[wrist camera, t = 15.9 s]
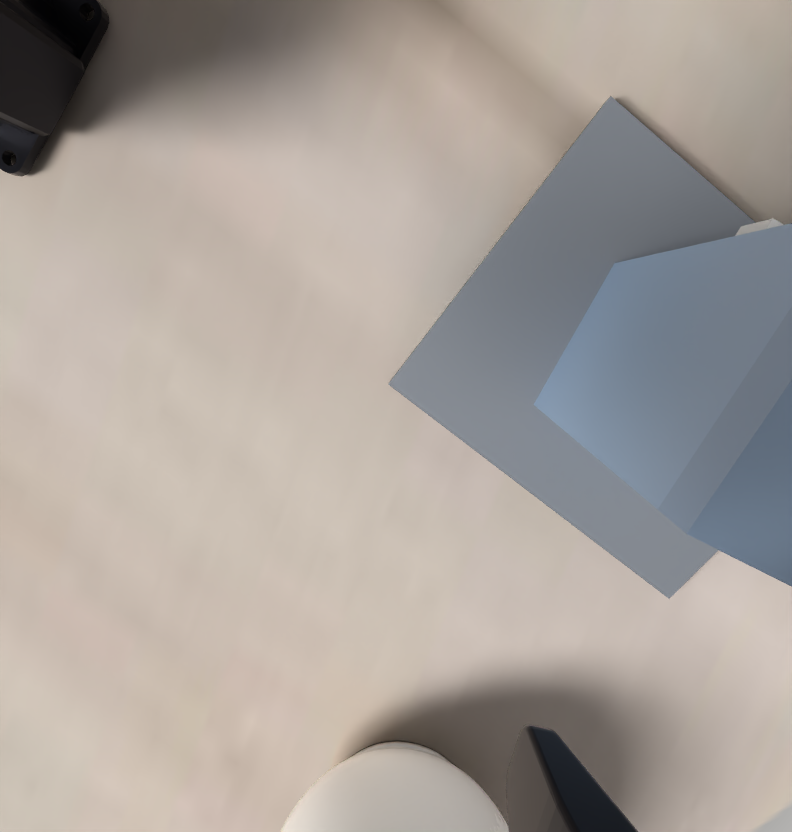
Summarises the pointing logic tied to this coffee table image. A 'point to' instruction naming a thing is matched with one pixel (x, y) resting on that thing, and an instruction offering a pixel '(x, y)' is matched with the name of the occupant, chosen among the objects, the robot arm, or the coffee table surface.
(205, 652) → the coffee table surface
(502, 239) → the flat square base plate
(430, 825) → the lidded jar
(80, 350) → the coffee table surface
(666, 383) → the tall blue rectangular block
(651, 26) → the coffee table surface
